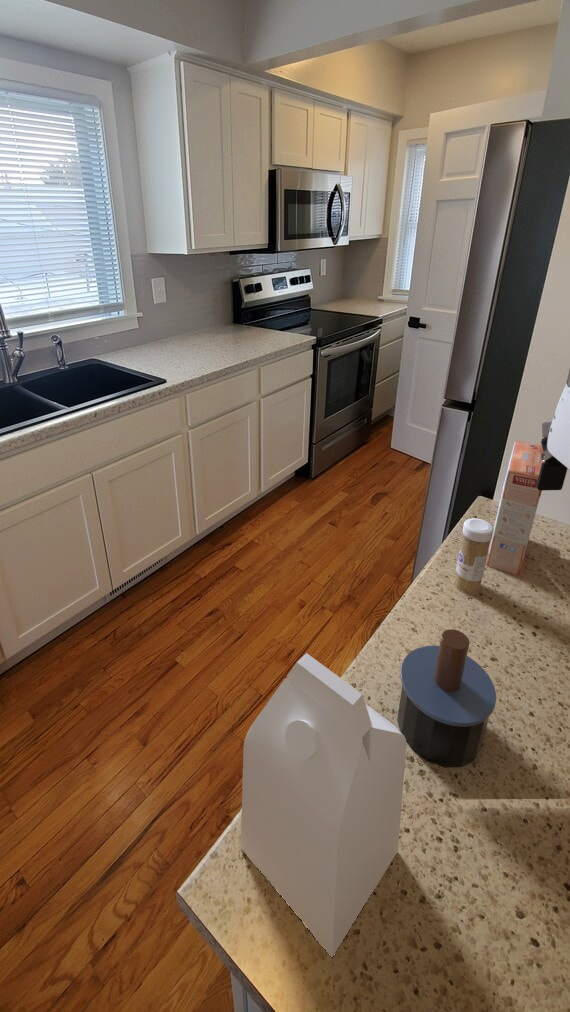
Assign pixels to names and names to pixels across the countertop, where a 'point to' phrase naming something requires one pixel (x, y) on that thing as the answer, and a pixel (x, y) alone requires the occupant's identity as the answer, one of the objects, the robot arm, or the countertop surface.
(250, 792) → the milk
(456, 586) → the sprinkles bottle
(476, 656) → the countertop surface
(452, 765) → the tin
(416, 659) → the plate lid
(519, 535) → the cracker box
